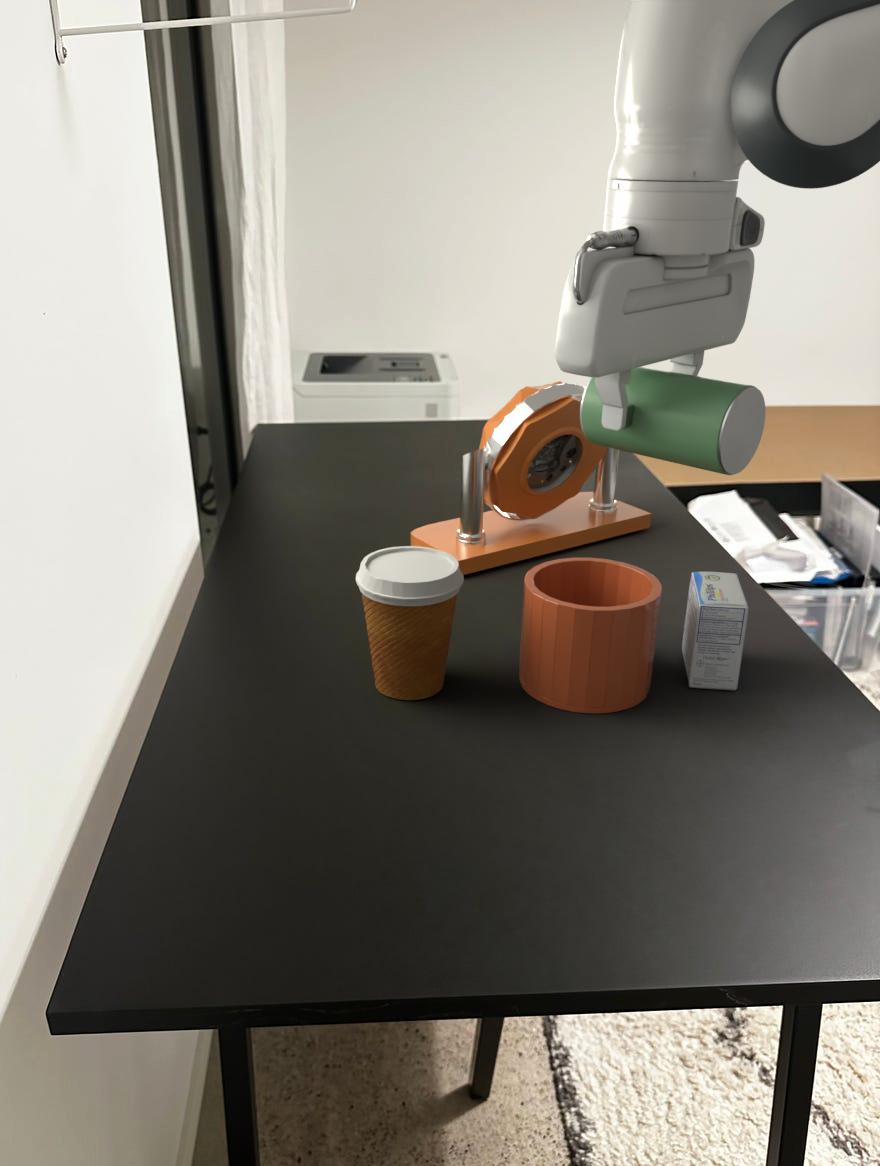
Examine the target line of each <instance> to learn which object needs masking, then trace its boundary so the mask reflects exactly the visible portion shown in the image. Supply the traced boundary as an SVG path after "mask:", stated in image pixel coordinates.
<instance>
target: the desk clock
mask: <svg viewBox="0 0 880 1166" xmlns="http://www.w3.org/2000/svg"><path fill="white" fill-rule="evenodd" d="M585 388H586V386H583V385H580V384H578V383H569V382H563V381H556V382H552V383H548V384H542V385H529V386H528V385H526V386H524V387H523V388H521V389H519V390H518V391H517V392H516V393H515V395H514V396H512V398H511V399H510V400H509V401H508V402H507V403H506V404H505V405H504V406H502V408H501V409H499V411H497V412H496V413H495V414H494V415H492V417H490V418H489V419H487V421H486V423H485V425H484V426H483V428H482V433H481V439H480V443H479V447H478V449H477V450H473V451H469V452H467V453H466V454H463V455H462V456H461V465H460V466H461V469H460V504H459V505H460V506H459V517H457V518H451V519H448V520H443V521H438V522H435V523H429V524H426V525H423V526H420V527H417V528H414V529H413V530H412V531H410V546H419V547H428V548H433V549H437V550H441V551H444V552H446V553H449V554H450V555H452V556H453V557H455V558H456V559H457V561H458V564H459V568H460V571H461V572H462V574H463V576H464V575H465V576H466V575H469V574H472V573H476V572H480V571H485V570H488V569H492V568H496V567H500V566H504V565H508V564H512V563H515V562H519V561H520V562H521V561H524V560H528V559H531V558H535V557H536V558H537V557H539V556H544V555H547V554H552V553H555V552H560V551H563V550H566V549H571V548H575V547H579V546H583V545H586V544H590V543H595V542H598V541H603V540H606V539H610V538H615V537H618V536H623V535H626V534H630V533H633V532H637V531H638V532H639V531H641V530H642V531H643V530H646V529H650V528H651V522H652V513H651V512H649V511H646V510H644V509H641V508H638V507H637V506H633V505H631V504H628V503H626V502H623V501H621V500H618V499H616V489H617V488H616V487H617V480H618V479H617V478H618V468H619V467H618V466H619V459H620V458H619V456H620V450H617V449H613V448H608V447H604V446H600V445H595V444H593V443H591V442H590V441H589V440H588V439H587V438H586V437H585V435H584V434H583V431H582V428H581V423H580V407H581V401H582V397H583V393H584V390H585ZM593 473H594V480H593V483H594V484H593V491H581V490H582V488H583V486H584V484H586V482H587V481H588V480H589V478H590V477H591V476H592V474H593ZM484 504H485V505H487V507H489V508H490V509H491V510H488V511H484V506H485V505H484Z"/></svg>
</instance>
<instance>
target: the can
mask: <svg viewBox="0 0 880 1166" xmlns="http://www.w3.org/2000/svg"><path fill="white" fill-rule="evenodd" d="M585 387H586V388H585V390H584V393H583V397H582V401H581V407H580V423H581V428H582V431H583V434H584V435H585V437H586V438H587V439H588V440H589V441H590V442H591V443H593V444H595V445H600V446H604V447H608V448H613V449H617V450H619V451H622V452H626V453H631V454H634V455H639V456H642V457H643V456H644V457H647V458H652V459H656V460H661V461H664V462H669V463H673V464H678V465H681V466H686V467H691V468H695V469H700V470H704V471H709V472H712V473H715V474H721V475H725V476H734V475H737V474H739V473H741V472H742V471H744V470H745V469H746V468H747V467H748V465H749V464H750V463H751V461H752V459H753V458H754V456H755V454H756V452H757V450H758V448H759V446H760V443H761V440H762V436H763V433H764V428H765V422H766V402H765V397H764V394H763V392H762V391H761V390H760V389H759V388H758V387H756V386H755V385H752V384H747V383H740V382H734V381H729V380H722V379H716V378H710V377H705V376H699V375H697V376H693V375H687V374H682V373H676V372H671V370H670V371H669V370H663V369H657V368H652V367H645V366H641V367H637V368H633V369H631V378H630V383H629V384H625V387H626V393H627V399H628V403H630V404H634V414H633V416H632V418H633V421H632V425H631V426H630V427H627V428H624V429H622V430H618V431H615V430H611V429H606V428H604V427H603V426H602V411H603V404H602V401H601V399H600V396H599V393H598V390H597V387H596V384H595V378H594V377H589V379H588V381H587V383H586V385H585Z"/></svg>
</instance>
